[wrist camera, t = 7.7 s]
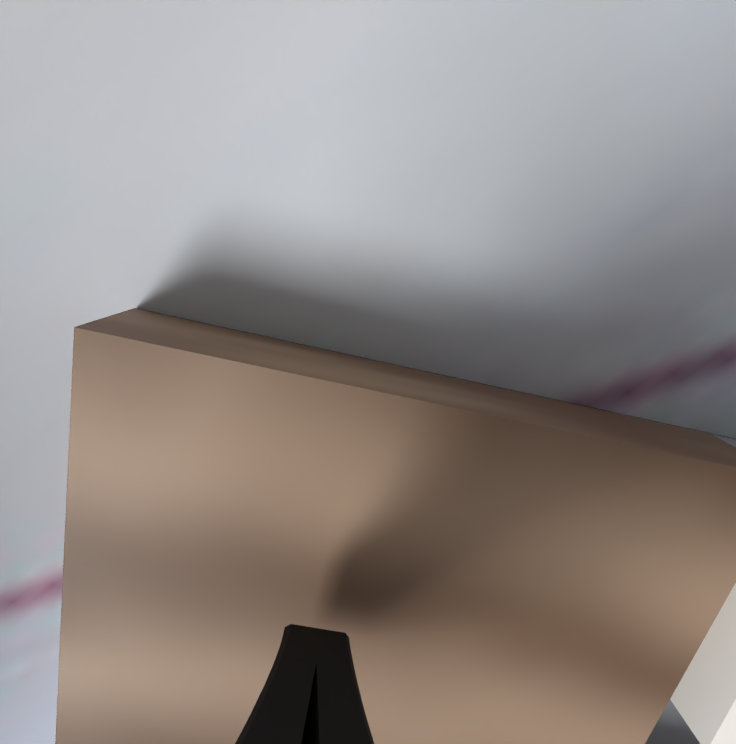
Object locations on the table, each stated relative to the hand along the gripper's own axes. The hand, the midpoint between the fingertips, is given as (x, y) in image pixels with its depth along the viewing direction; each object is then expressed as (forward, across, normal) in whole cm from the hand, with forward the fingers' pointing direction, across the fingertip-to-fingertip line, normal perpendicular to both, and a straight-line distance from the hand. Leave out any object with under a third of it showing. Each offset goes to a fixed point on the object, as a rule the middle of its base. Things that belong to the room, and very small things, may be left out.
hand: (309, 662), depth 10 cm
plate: (+4, -2, 0) cm, 4 cm away
